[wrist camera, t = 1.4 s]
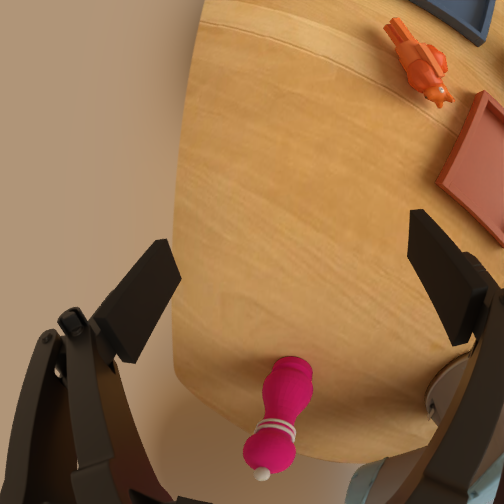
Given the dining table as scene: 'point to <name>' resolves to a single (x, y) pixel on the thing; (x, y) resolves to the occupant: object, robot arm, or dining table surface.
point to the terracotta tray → (479, 165)
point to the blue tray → (463, 16)
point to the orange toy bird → (420, 63)
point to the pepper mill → (279, 417)
